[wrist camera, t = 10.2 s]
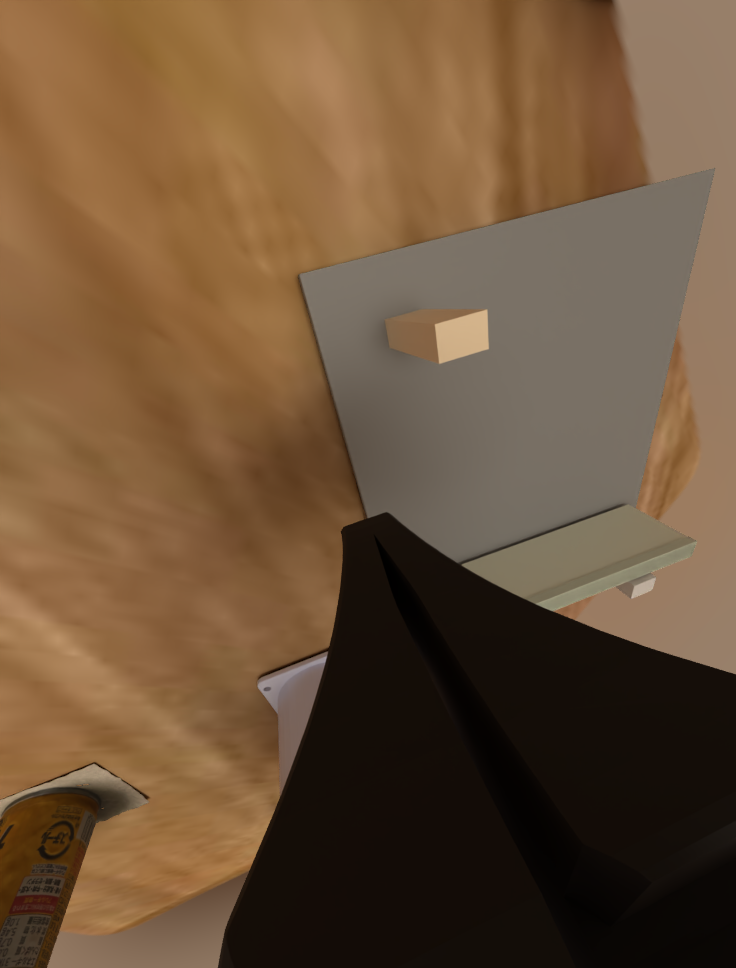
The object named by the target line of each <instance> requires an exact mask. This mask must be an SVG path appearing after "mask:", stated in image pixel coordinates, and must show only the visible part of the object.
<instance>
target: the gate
mask: <svg viewBox="0 0 736 968" xmlns="http://www.w3.org/2000/svg"><path fill="white" fill-rule="evenodd" d="M696 543H697V541H696V540H694V539H692V538H691V537H687V536H686V535H684V534H682V533H680V532H678V531H676V530H674V529H673V528H671V527H669V526H667V525H665V524H663V523H662V522H660V521H658V520H656V519H654V518H652V517H651V516H649V515H647V514H645V513H643V512H641V511H640V510H638V509H636V508H634V507H632V506H630V505H629V504H628V505H625V506H622V507H620V508H617V509H614V510H611V511H608V512H606V513H603V514H600V515H597V516H595V517H592V518H589V519H586V520H584V521H581V522H578V523H575V524H572V525H570V526H567V527H564V528H561V529H559V530H556V531H553V532H550V533H548V534H545V535H542V536H539V537H536V538H534V539H531V540H528V541H525V542H523V543H520V544H517V545H514V546H511V547H509V548H506V549H503V550H500V551H498V552H495V553H492V554H489V555H487V556H484V557H481V558H478V559H475V560H473V561H470V562H467V563H464V564H462V566H464V567H465V568H467V569H469V570H470V571H472V572H474V573H475V574H477V575H479V576H481V577H483V578H484V579H486V580H488V581H490V582H492V583H494V584H496V585H498V586H499V587H501V588H503V589H505V590H507V591H509V592H511V593H513V594H515V595H518V596H520V597H522V598H524V599H526V600H528V601H530V602H533V603H535V604H537V605H539V606H541V607H543V608H546V609H548V610H551V611H555V610H557V609H560V608H562V607H565V606H567V605H570V604H572V603H575V602H577V601H580V600H582V599H585V598H587V597H590V596H593V595H595V594H598V593H600V592H602V591H605V590H608V589H610V588H613V587H615V586H618V585H620V584H623V583H625V582H628V581H630V580H633V579H636V578H638V577H641V576H643V575H646V574H648V573H651V572H653V571H656V570H658V569H661V568H663V567H666V566H668V565H671V564H673V563H676V562H678V561H681V560H684V559H686V558H689V557H691V556H692V553H693V551H694V548H695V546H696Z"/></svg>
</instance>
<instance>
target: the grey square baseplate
mask: <svg viewBox="0 0 736 968" xmlns="http://www.w3.org/2000/svg"><path fill="white" fill-rule="evenodd" d="M714 171H715V168H714V169H709V170H706V171H702V172H698V173H694V174H690V175H686V176H682V177H678V178H674V179H671V180H666V181H662V182H659V183H655V184H651V185H647V186H643V187H639V188H635V189H631V190H627V191H623V192H619V193H615V194H612V195H608V196H604V197H600V198H596V199H592V200H588V201H584V202H580V203H576V204H572V205H569V206H565V207H561V208H557V209H553V210H549V211H545V212H541V213H537V214H533V215H529V216H525V217H522V218H518V219H514V220H510V221H506V222H502V223H498V224H494V225H490V226H486V227H482V228H479V229H475V230H471V231H467V232H463V233H459V234H455V235H451V236H447V237H443V238H439V239H435V240H432V241H428V242H424V243H420V244H416V245H412V246H408V247H404V248H400V249H396V250H392V251H389V252H385V253H381V254H377V255H373V256H369V257H365V258H361V259H357V260H353V261H349V262H345V263H342V264H338V265H334V266H330V267H326V268H322V269H318V270H314V271H310V272H306V273H302V274H299V275H298V279H299V282H300V286H301V289H302V293H303V296H304V300H305V303H306V307H307V310H308V314H309V317H310V321H311V324H312V328H313V331H314V335H315V338H316V342H317V345H318V349H319V352H320V356H321V359H322V363H323V366H324V370H325V373H326V377H327V381H328V384H329V388H330V391H331V395H332V398H333V402H334V405H335V409H336V412H337V416H338V419H339V423H340V426H341V430H342V433H343V437H344V440H345V444H346V447H347V451H348V454H349V458H350V461H351V465H352V468H353V472H354V475H355V479H356V482H357V486H358V489H359V493H360V496H361V500H362V503H363V507H364V510H365V514H366V517H367V518H370V517H373V516H376V515H379V514H382V513H385V512H388V513H390V514H391V515H393V516H394V517H395V518H396V519H397V520H398V521H399V522H401V523H402V524H403V525H404V526H406V527H407V528H408V529H409V530H411V531H412V532H413V533H415V534H416V535H417V536H418V537H420V538H421V539H423V540H424V541H425V542H427V543H428V544H430V545H431V546H433V547H434V548H436V549H437V550H438V551H440V552H441V553H443V554H444V555H446V556H447V557H449V558H451V559H452V560H454V561H455V562H457V563H459V564H460V565H462V564H464V563H467V562H470V561H473V560H475V559H478V558H481V557H484V556H487V555H489V554H492V553H495V552H498V551H500V550H503V549H506V548H509V547H511V546H514V545H517V544H520V543H523V542H525V541H528V540H531V539H534V538H536V537H539V536H542V535H545V534H548V533H550V532H553V531H556V530H559V529H561V528H564V527H567V526H570V525H572V524H575V523H578V522H581V521H584V520H586V519H589V518H592V517H595V516H597V515H600V514H603V513H606V512H608V511H611V510H614V509H617V508H620V507H622V506H625V505H628V504H629V505H630V506H632V507H634V508H636V504H637V500H638V496H639V491H640V487H641V483H642V479H643V474H644V470H645V466H646V461H647V457H648V453H649V449H650V444H651V440H652V436H653V432H654V427H655V423H656V419H657V415H658V410H659V406H660V402H661V397H662V393H663V389H664V385H665V380H666V376H667V372H668V368H669V363H670V359H671V355H672V351H673V346H674V342H675V338H676V333H677V329H678V325H679V321H680V316H681V312H682V308H683V304H684V299H685V295H686V291H687V286H688V282H689V278H690V273H691V269H692V265H693V261H694V257H695V252H696V248H697V244H698V240H699V235H700V231H701V227H702V222H703V218H704V214H705V209H706V205H707V201H708V197H709V192H710V188H711V184H712V180H713V175H714ZM655 579H656V577H655V576H654V575H653V574H651V573H648V574H646V575H643V576H641V577H638V578H636V579H633V580H630V581H628V582H625V583H623V584H620V585H618V586H615V587H617V588H618V589H619V590H620V591H622V592H623V593H624V594H625V595H627V596H628V597H629V598H630V599H632V598H634V597H637V596H639V595H642V594H644V593H646V592H649V591H651V590H652V589H653V586H654V582H655Z"/></svg>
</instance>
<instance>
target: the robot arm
mask: <svg viewBox="0 0 736 968" xmlns="http://www.w3.org/2000/svg"><path fill="white" fill-rule="evenodd" d="M341 534H342V542H343V563H342V575H341V586H340V594H339V600H338V606H337V612H336V618H335V623H334V628H333V633H332V638H331V642H330V646H329V650H328V651H327V652H325V653H322V654H319V655H317V656H314V657H312V658H309V659H307V660H304V661H302V662H299V663H297V664H294V665H292V666H289V667H286V668H284V669H281V670H279V671H276V672H274V673H271V674H269V675H266V676H264V677H261V678H260V679H259V680H258V683H257V686H258V688H259V690H260V691H261V692H262V694H263V695H264V696H265V698H266V699H267V701H268V702H269V703H270V705H271V706H272V707H273V709H274V710H275V711H276V713H277V714H278V737H279V779H280V799H279V801H278V804H277V806H276V809H275V811H274V814H273V816H272V819H271V821H270V824H269V826H268V828H267V831H266V833H265V835H264V838H263V840H262V842H261V845H260V847H259V850H258V852H257V854H256V857H255V859H254V861H253V864H252V866H251V868H250V871H249V874H248V876H247V878H246V880H245V883H244V885H243V887H242V890H241V892H240V895H239V897H238V899H237V902H236V904H235V906H234V909H233V911H232V913H231V916H230V918H229V921H228V923H227V926H226V929H225V933H224V938H223V943H222V948H221V954H220V959H219V965H218V968H736V674H733V673H729V672H726V671H723V670H719V669H716V668H713V667H710V666H706V665H703V664H700V663H696V662H693V661H690V660H687V659H683V658H680V657H677V656H673V655H669V654H667V653H664V652H660V651H657V650H654V649H651V648H648V647H645V646H642V645H639V644H637V643H634V642H630V641H628V640H625V639H622V638H620V637H617V636H614V635H611V634H608V633H605V632H603V631H600V630H597V629H595V628H592V627H590V626H587V625H585V624H582V623H580V622H578V621H575V620H573V619H570V618H568V617H565V616H563V615H561V614H558V613H556V612H553V611H551V610H548V609H546V608H543V607H541V606H539V605H537V604H535V603H533V602H530V601H528V600H526V599H524V598H522V597H520V596H518V595H515V594H513V593H511V592H509V591H507V590H505V589H503V588H501V587H499V586H498V585H496V584H494V583H492V582H490V581H488V580H486V579H484V578H483V577H481V576H479V575H477V574H475V573H474V572H472V571H470V570H469V569H467V568H465V567H464V566H462V565H460V564H459V563H457V562H455V561H454V560H452V559H451V558H449V557H447V556H446V555H444V554H443V553H441V552H440V551H438V550H437V549H436V548H434V547H433V546H431V545H430V544H428V543H427V542H425V541H424V540H423V539H421V538H420V537H418V536H417V535H416V534H415V533H413V532H412V531H411V530H409V529H408V528H407V527H406V526H404V525H403V524H402V523H401V522H399V521H398V520H397V519H396V518H395V517H394V516H393V515H391V514H390V513H388V512H385V513H382V514H379V515H376V516H373V517H370V518H367V519H365V520H362V521H359V522H356V523H353V524H350V525H347V526H345V527H343V529H342V531H341Z"/></svg>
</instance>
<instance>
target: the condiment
mask: <svg viewBox="0 0 736 968" xmlns="http://www.w3.org/2000/svg"><path fill="white" fill-rule="evenodd" d="M83 784H89V785H83ZM77 785H81V786H77ZM147 803H149V801H148V800H146V799H145V798H144V796H143V795H141V794H140V793H139V792H137V791H136V790H134V789H133V788H132V787H131V786H129V785H128V784H126V783H125V782H123V781H122V780H121V778H117V777H115V776H113V775H111V774H110V773H109V772H108V771H107V770H103V769H102V768H100V767H98V766H97V765H95V764H93V765H90V766H87V767H86V768H84V769H81V770H78V771H74V772H72V773H70V774H69V775H67V776H64V777H61V778H58V779H55V780H53V781H51V782H49V783H45V784H42V785H40V786H37V787H33V788H30V789H27V790H25V791H22V792H20V793H17V794H15V795H13V796H10V797H7V798H5V799H2V800H0V968H47V965H48V963H49V960H50V957H51V954H52V950H53V948H54V945H55V942H56V939H57V936H58V933H59V930H60V927H61V924H62V921H63V918H64V915H65V913H66V909H67V906H68V903H69V901H70V898H71V895H72V892H73V889H74V886H75V883H76V880H77V877H78V874H79V871H80V868H81V865H82V862H83V859H84V856H85V853H86V850H87V847H88V844H89V841H90V838H91V835H92V833H93V829H94V827H95V823H98V822H99V821H105V820H108V819H109V818H111V817H113V816H115V815H119V814H120V813H122V812H125V811H127V810H130V809H135V808H138V807H140V806H142V805H144V804H147ZM101 808H104V809H101Z"/></svg>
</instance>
